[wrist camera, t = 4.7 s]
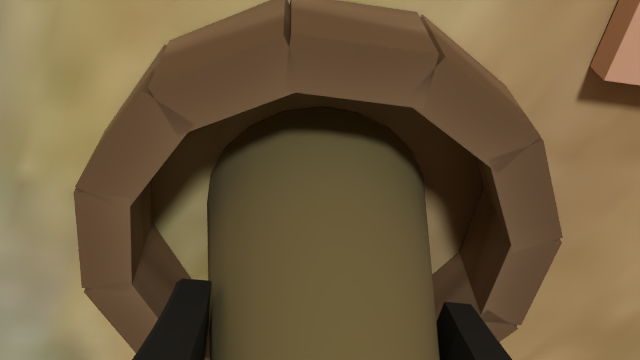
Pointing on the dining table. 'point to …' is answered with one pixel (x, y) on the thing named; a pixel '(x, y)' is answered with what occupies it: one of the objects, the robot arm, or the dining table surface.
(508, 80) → the dining table surface
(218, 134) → the dining table surface
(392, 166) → the cork
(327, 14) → the holder ring
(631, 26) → the coaster
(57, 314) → the dining table surface
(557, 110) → the dining table surface
